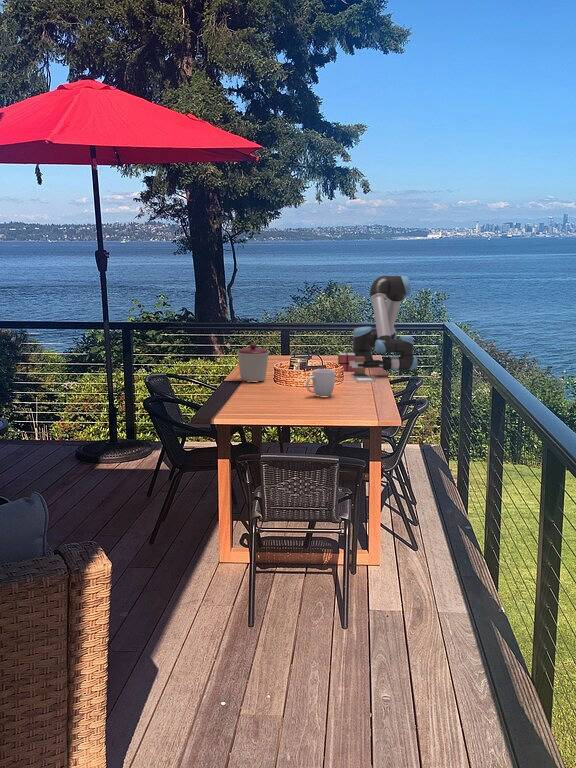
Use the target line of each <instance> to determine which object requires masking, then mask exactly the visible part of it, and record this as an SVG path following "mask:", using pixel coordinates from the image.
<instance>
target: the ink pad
mask: <svg viewBox="0 0 576 768" xmlns="http://www.w3.org/2000/svg"><path fill="white" fill-rule="evenodd" d="M349 376H350V377H351V378H357V377H370V376H369V375H368V374H366V373H365V375H355V374H354V373H350V374H349Z"/></svg>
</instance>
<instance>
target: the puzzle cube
mask: <svg viewBox="0 0 576 768" xmlns="http://www.w3.org/2000/svg"><path fill="white" fill-rule="evenodd" d="M337 357H338V358H337V365H338V364H340V365H342V366H343V368H344V372H343V373H345V372H348V373H354V368H352V366H349V363H350V361H355V357H356V355H355V353H353V352H338V353H337Z"/></svg>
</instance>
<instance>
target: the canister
mask: <svg viewBox="0 0 576 768" xmlns="http://www.w3.org/2000/svg"><path fill="white" fill-rule="evenodd" d="M236 353H237V359H238V360H237V361H238V369H239V373H240V379H241V381H242V380H243V381H242V382H244V381H262V382H264V381H265V380H266V377H267V370H268V369H267V368H268V360H269V354H270V351H269V350H268V349H267V348H262V347H257V344H256V343H249V347H244V348H240V349H238V350H237V351H236ZM263 380H264V381H263Z"/></svg>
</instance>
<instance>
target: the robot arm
mask: <svg viewBox="0 0 576 768" xmlns="http://www.w3.org/2000/svg"><path fill="white" fill-rule="evenodd" d="M410 294H411V282H410V279H409V277H408V276H407V275H380V276H379V277H377V278H376V279H374V281H373V282H372V283H371V285H370V288H369V299H370V300H369V301H371V302H372V308H373V315H374V320H375V321H374V322H375V328H373V327H372V326H361V327H360V326H359V327H356V328H354V330H353V332H352V334H353V335H352V353H355V355H356V357H365V362H364V364H363V363H355V361H350V363H349V366H352V368H358V367H364V368H365V369H376V368H378V369H379V368H381V369H382V370H384V371H394V372H396V370H397V371H411V370H416V369H417V368H418V365H419V364H418V363H419V362H418V358H417V356H414V344H415V343H414V337H413V336H410V335H401V336H400V338H399V339H397V337H398V336H397V335H398V334H397V330H396V329H395V324H396V320H397V316H398V312H399V311H400V310H399V309H400V307H401V306H400V305H401V303H402V301H404V300H405V297H407V296H410ZM373 348H374V350H375V352H376V353H377V354H391V353H392V354H394V353H395V354H396V353H397V354H399V356H384V357H383V358H382V360H380V359H374V357H373V353H372V349H373Z"/></svg>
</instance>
